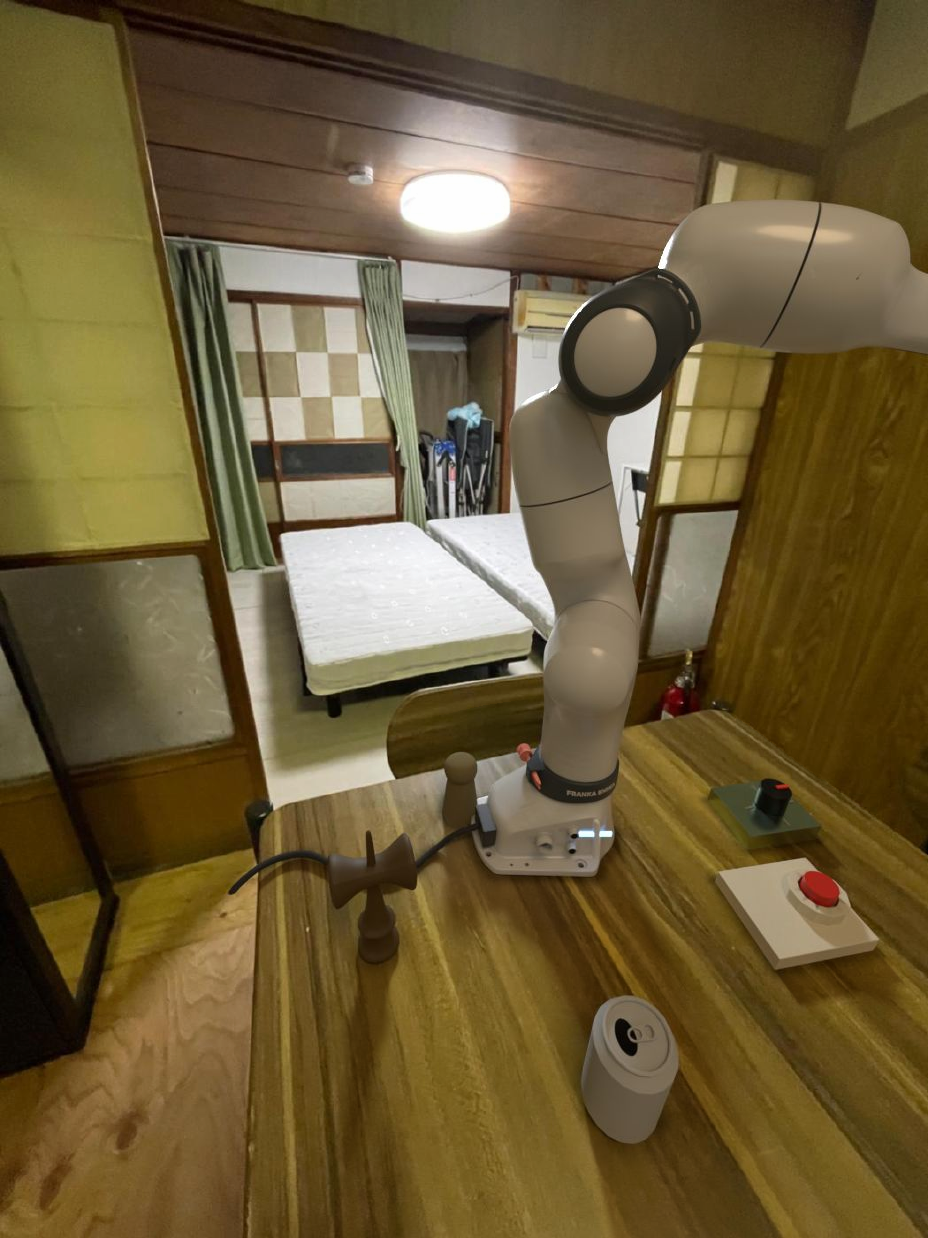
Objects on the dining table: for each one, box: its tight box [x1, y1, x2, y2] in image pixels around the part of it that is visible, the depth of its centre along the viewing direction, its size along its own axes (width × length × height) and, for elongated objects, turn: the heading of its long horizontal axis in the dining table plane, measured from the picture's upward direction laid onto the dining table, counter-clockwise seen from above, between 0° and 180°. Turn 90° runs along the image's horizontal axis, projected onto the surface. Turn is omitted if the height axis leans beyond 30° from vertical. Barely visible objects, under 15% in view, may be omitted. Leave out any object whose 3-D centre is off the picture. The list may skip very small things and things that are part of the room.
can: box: [580, 994, 679, 1145], centre depth 48 cm, size 8×8×12 cm
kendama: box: [326, 829, 418, 964], centre depth 60 cm, size 6×10×20 cm, turn 108°
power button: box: [800, 870, 840, 907], centre depth 67 cm, size 4×4×2 cm
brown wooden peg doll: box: [441, 751, 478, 827], centre depth 81 cm, size 6×6×11 cm
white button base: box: [714, 857, 880, 971], centre depth 67 cm, size 14×12×4 cm
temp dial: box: [754, 777, 793, 815], centre depth 81 cm, size 4×4×4 cm
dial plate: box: [707, 780, 822, 851], centre depth 82 cm, size 12×10×3 cm
